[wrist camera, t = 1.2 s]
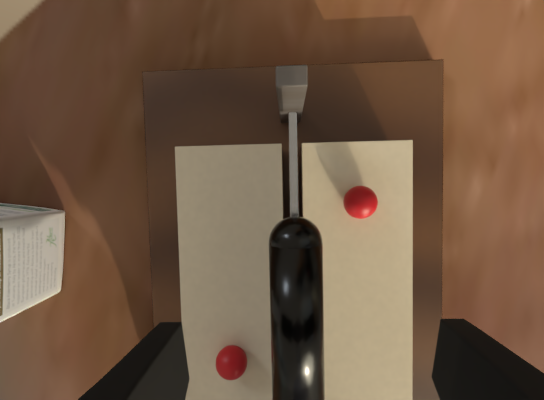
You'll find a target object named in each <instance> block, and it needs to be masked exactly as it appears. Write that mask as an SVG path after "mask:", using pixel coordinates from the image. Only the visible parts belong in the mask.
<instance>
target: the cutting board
mask: <svg viewBox="0 0 544 400" xmlns="http://www.w3.org/2000/svg"><path fill="white" fill-rule="evenodd" d="M143 96H144V119H145V142H146V165H147V188H148V211H149V233H150V256H151V279H152V302H153V325H154V328H155V327H156V326H157V325H158V324H159V323H160V322H182V320H181V295H180V269H179V243H178V217H177V191H176V165H175V147H178V146H213V145H248V144H282V149H283V187H284V219H285V218H288V217H290V190H289V139H288V113H289V112H297V145H298V200H299V217H301V213H300V157H299V151H300V148H301V144H302V143H318V142H353V141H388V140H413V364H412V400H440V398H439V396H438V393H437V390H436V388H435V385H434V383H433V380H432V371H433V364H434V358H435V351H436V345H437V339H438V332H439V326H440V319H442V221H443V60H442V59H441V60H417V61H393V62H368V63H344V64H319V65H288V66H270V67H246V68H222V69H197V70H173V71H148V72H143Z"/></svg>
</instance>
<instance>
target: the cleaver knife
mask: <svg viewBox="0 0 544 400" xmlns="http://www.w3.org/2000/svg"><path fill="white" fill-rule="evenodd" d="M288 139H289V190H290V217H288V218H285V219H283V220H281V221H280V222H279V223H277V224H276V225H275V227H274V228H273V229H272V231H271V233H270V237H269V277H270V320H271V363H272V400H325V379H324V309H323V243H322V237H321V233H320V231H319V230H318V228H317V227H316V225H315V224H314V223H312V222H311V221H310V220H308V219H306V218H303V217H299V200H298V145H297V112H289V113H288Z"/></svg>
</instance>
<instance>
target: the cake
mask: <svg viewBox="0 0 544 400" xmlns="http://www.w3.org/2000/svg"><path fill="white" fill-rule="evenodd" d="M299 157H300V213H301V217H303V218H306V219H308V220H310V221H311V222H312V223H314V224H315V225H316V227H317V228H318V230H319V231H320V233H321V237H322V243H323V309H324V379H325V400H412V364H413V140H388V141H353V142H318V143H302V144H301V148H300V151H299ZM175 165H176V191H177V217H178V243H179V269H180V295H181V320H182V328H183V335H184V343H185V350H186V357H187V364H188V371H189V378H190V379H189V384H188V389H187V393H186V398H185V400H272V363H271V320H270V277H269V237H270V233H271V231H272V229H273V228H274V227H275V225H276V224H277V223H279V222H280V221H281V220H283V219H284V187H283V149H282V144H248V145H213V146H178V147H175Z"/></svg>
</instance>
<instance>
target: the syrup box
mask: <svg viewBox="0 0 544 400" xmlns="http://www.w3.org/2000/svg"><path fill="white" fill-rule="evenodd" d="M64 229H65V211H63V210H56V209H50V208H42V207H35V206H26V205H16V204H5V203H0V322H2V321H4V320H6V319H8V318H10V317H12V316H14V315H16V314H18V313H20V312H22V311H24V310H26V309H28V308H30V307H32V306H34V305H36V304H38V303H40V302H42V301H44V300H46V299H48V298H50V297H52V296H53V295H55V294H57V293H59V292H60V291H61V286H62V273H63V255H64Z"/></svg>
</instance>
